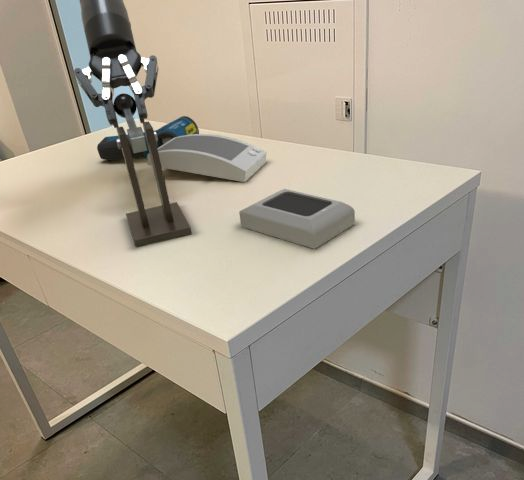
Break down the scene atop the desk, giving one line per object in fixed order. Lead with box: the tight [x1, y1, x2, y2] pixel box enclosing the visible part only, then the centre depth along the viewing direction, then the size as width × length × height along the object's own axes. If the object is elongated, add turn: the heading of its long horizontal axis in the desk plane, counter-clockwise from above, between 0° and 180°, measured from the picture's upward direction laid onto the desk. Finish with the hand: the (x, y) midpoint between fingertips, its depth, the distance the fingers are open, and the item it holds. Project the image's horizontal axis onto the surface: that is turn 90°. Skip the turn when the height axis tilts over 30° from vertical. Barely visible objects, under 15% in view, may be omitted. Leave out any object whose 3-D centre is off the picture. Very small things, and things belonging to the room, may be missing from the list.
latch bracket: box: [115, 120, 193, 248], centre depth 86 cm, size 12×9×16 cm
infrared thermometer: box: [96, 115, 200, 161], centre depth 123 cm, size 6×13×20 cm
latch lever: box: [113, 93, 147, 153], centre depth 85 cm, size 13×4×4 cm, turn 18°
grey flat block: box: [238, 188, 356, 250], centre depth 84 cm, size 10×4×15 cm
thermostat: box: [147, 133, 267, 183], centre depth 109 cm, size 11×21×6 cm, turn 68°
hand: (128, 121), depth 87 cm, fingers closed on latch lever, 3 cm apart
